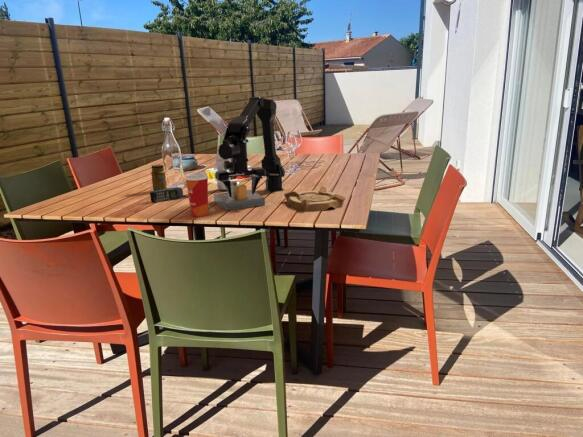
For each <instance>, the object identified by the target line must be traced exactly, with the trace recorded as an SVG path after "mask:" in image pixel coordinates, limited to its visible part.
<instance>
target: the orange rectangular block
mask: <svg viewBox="0 0 583 437" xmlns="http://www.w3.org/2000/svg"><path fill="white" fill-rule="evenodd" d="M247 190H248V188H247V185H246V184H244V183H243V184H240V185H236V194H237V200H242V199H247Z"/></svg>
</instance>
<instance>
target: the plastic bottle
mask: <svg viewBox="0 0 583 437" xmlns="http://www.w3.org/2000/svg"><path fill="white" fill-rule="evenodd" d="M219 147H220V145H218V146H217V150H218V149H219ZM214 160H215V164H216V171H227V172H229V169H227V170H225V169H224V161H229V162H231V158H230V159H223V158H221V157H220V155H219V153H218V152H216V155H215V156H214ZM231 178H232V177H229V179H228V180H230V181H232V179H231ZM216 181H217V183H216V186H217V189H218V190H219V191H227V189H226V187H225V185H224V183H222V182H221V181H219V180H217V179H216Z"/></svg>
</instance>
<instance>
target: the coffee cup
mask: <svg viewBox="0 0 583 437" xmlns="http://www.w3.org/2000/svg"><path fill="white" fill-rule="evenodd" d="M184 179H185V181H186V188H187V189H186V190H187V195H188V201H189V208H190V213H191V216H192V217H193V218H196V217H197V218H199V217H200V216H202V217H206V216H208V215H209V191H208V190H209V185H208V184H209V183H208V182H209V181H208V179H209V176H208V174H207V173H206V172H190V173H187V174H186V175H185V178H184ZM205 215H206V216H205Z"/></svg>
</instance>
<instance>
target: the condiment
mask: <svg viewBox="0 0 583 437" xmlns="http://www.w3.org/2000/svg"><path fill="white" fill-rule="evenodd" d="M164 167H165V166H164V165H163V164H154V165H151V171H150V175H151V183H152V189H151V191H150V192H152V191H156V190H161V189H167V188H168V186H167V178H166V171H165V168H164Z"/></svg>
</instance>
